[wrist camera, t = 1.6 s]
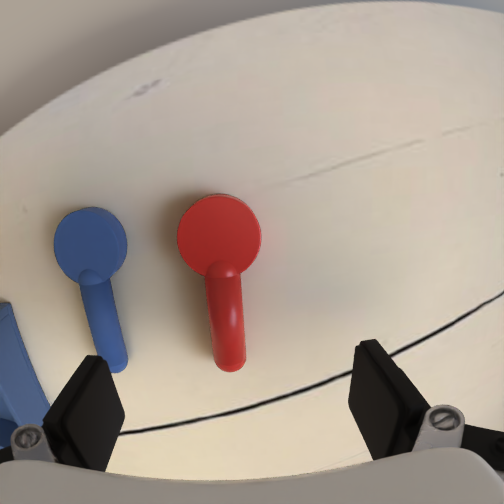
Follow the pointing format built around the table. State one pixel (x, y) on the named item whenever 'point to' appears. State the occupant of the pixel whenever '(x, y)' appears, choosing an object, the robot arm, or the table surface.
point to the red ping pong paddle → (221, 267)
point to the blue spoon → (95, 274)
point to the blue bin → (17, 381)
